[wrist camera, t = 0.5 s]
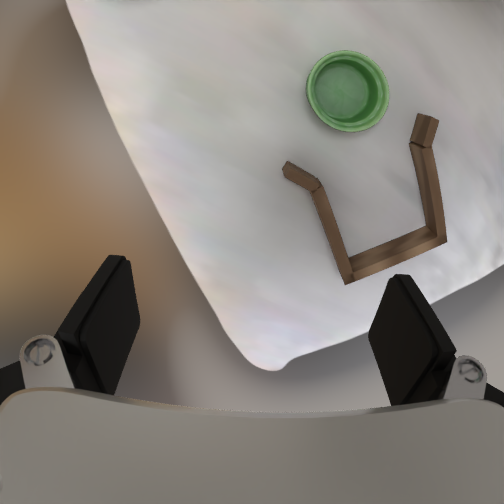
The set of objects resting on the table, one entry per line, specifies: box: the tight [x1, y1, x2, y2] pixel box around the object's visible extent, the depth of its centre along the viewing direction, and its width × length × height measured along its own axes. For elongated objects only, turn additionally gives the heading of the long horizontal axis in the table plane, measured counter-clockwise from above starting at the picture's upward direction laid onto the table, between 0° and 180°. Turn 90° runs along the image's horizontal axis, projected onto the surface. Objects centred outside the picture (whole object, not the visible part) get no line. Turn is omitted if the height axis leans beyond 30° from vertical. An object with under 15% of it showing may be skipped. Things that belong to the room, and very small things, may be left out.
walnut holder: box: [282, 113, 447, 285], centre depth 36 cm, size 20×17×4 cm
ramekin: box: [306, 50, 389, 132], centre depth 29 cm, size 9×9×4 cm
